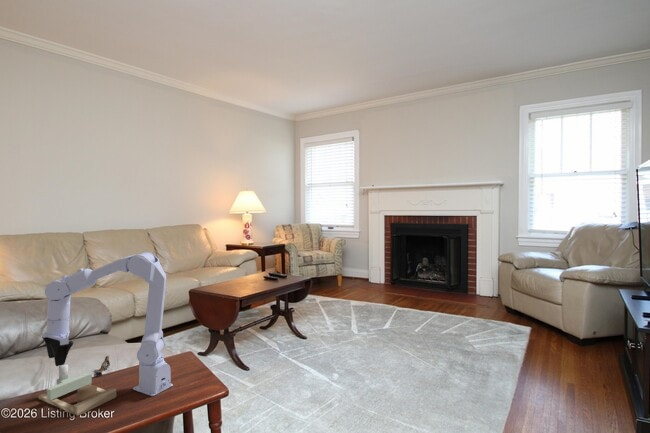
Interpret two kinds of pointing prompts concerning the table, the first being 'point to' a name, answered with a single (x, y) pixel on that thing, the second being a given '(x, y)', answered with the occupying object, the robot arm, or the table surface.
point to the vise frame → (84, 405)
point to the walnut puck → (86, 392)
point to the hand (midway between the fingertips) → (56, 361)
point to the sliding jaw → (67, 383)
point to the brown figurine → (104, 366)
